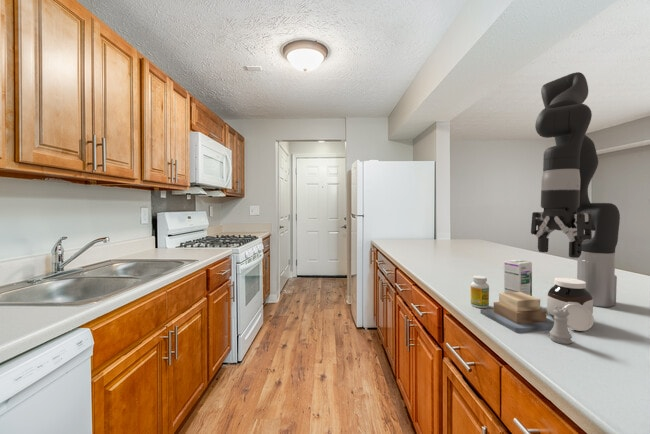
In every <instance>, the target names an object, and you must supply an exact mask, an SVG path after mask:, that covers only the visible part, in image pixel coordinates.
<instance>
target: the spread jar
mask: <svg viewBox="0 0 650 434" xmlns="http://www.w3.org/2000/svg"><path fill="white" fill-rule="evenodd" d="M585 288H586V282H584V281H582V280H578V279H577V278H573V277H572V278H571V277H555V278H554V285H553V286H552V287H551V288H550V289H549V290H548V292H547V297H546V298H547V299H546V311H547V314H548V315H549V317H551V319H553V320H554V316H555V314H554V312H553V310H554V307H558V309H559V307H561V309H563V308H566V309H568V312H569V315H568V316H567V319H568V321H567V327H568V329H570V330H574V331H579V332H584V331H588V330H589V329H591V328H592V327H593V325H594V324H595V319H594V314H593V313H594V305H593V298H592V295H591V294H590V293H589V291H587V290H586V289H585Z"/></svg>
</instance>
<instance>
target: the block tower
mask: <svg viewBox="0 0 650 434" xmlns="http://www.w3.org/2000/svg"><path fill="white" fill-rule="evenodd" d="M547 313H548V311H547V310H546V309H543V308H541V299H540V298H538V297H536V296H533V295H532V296H530V295H527V294H525V293H522V292H512V293H504V292H499V293H498V301H494V302H493V308H488V309H487V308H484V309H480V314H481V315H483V316H485V317H487V318H489V319H490V320H492V321H494V322H496V323H498V324H500V325H501V326H503V327H505V328H507V329H509V330H510V331H512V332H514V333H524V332H534V331H547V330H548V331H549V330H550V331H551V330H552V328H553V326H554V319H553V320H552V319H550V318H548V317H547Z"/></svg>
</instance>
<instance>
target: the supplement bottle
mask: <svg viewBox="0 0 650 434" xmlns="http://www.w3.org/2000/svg"><path fill="white" fill-rule="evenodd" d="M487 280H488V279H487V277H486V276H483V275H473V276H472V282H471V284H470V305H471V306H472V307H474V308H478V309H487V308H489V305H490V285H489V284H488V283H487Z"/></svg>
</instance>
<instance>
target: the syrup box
mask: <svg viewBox="0 0 650 434" xmlns="http://www.w3.org/2000/svg"><path fill="white" fill-rule="evenodd" d="M532 266H533V263H532V262H531V261H527V260H522V259H512V260H504V261H503V293H512V292H522V293H525V294H527V295H530V296H533V267H532Z"/></svg>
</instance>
